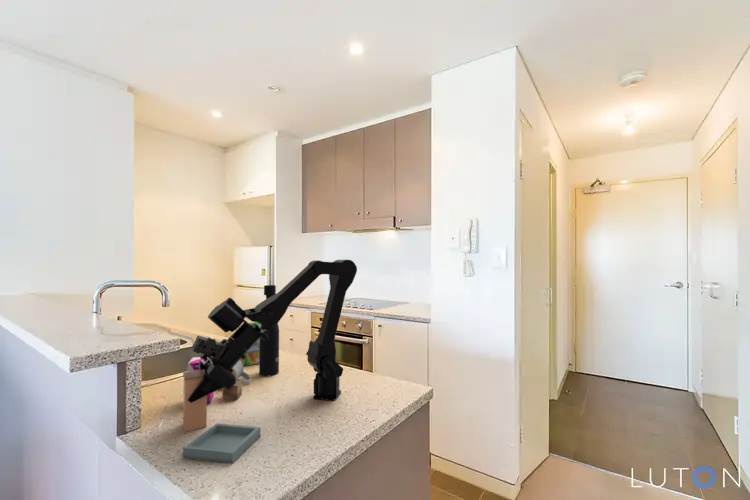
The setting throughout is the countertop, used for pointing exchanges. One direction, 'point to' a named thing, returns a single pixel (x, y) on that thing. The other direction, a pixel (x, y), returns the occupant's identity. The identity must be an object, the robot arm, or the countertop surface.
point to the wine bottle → (269, 344)
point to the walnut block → (233, 392)
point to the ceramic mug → (240, 373)
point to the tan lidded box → (196, 410)
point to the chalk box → (252, 352)
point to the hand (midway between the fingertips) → (188, 397)
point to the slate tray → (222, 443)
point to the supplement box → (194, 366)
